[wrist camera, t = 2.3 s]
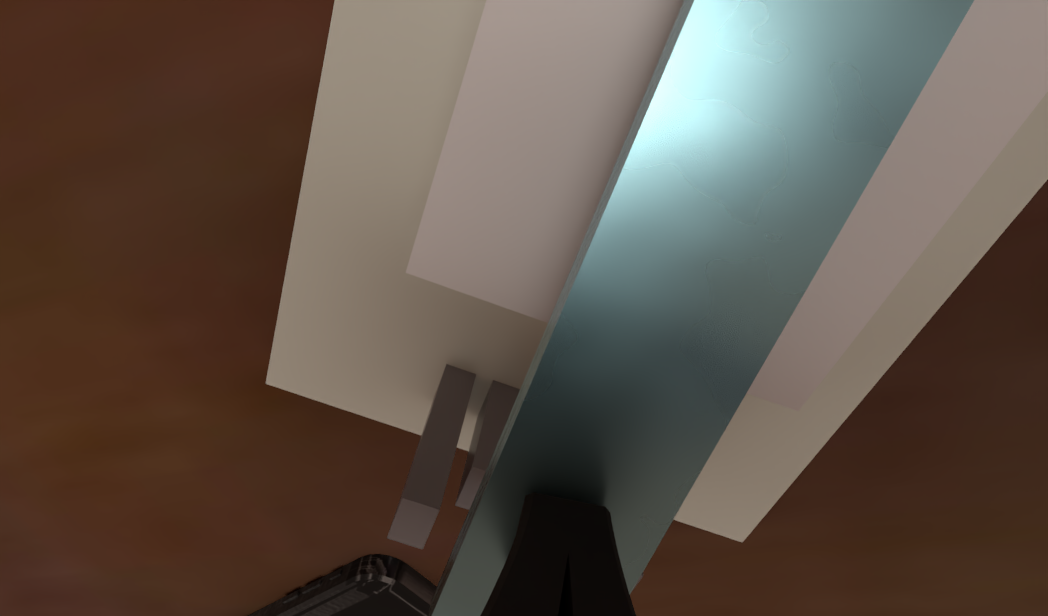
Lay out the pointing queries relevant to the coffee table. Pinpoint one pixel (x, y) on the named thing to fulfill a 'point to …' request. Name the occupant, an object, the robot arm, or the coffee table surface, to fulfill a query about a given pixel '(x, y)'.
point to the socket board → (428, 322)
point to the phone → (360, 592)
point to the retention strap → (697, 260)
